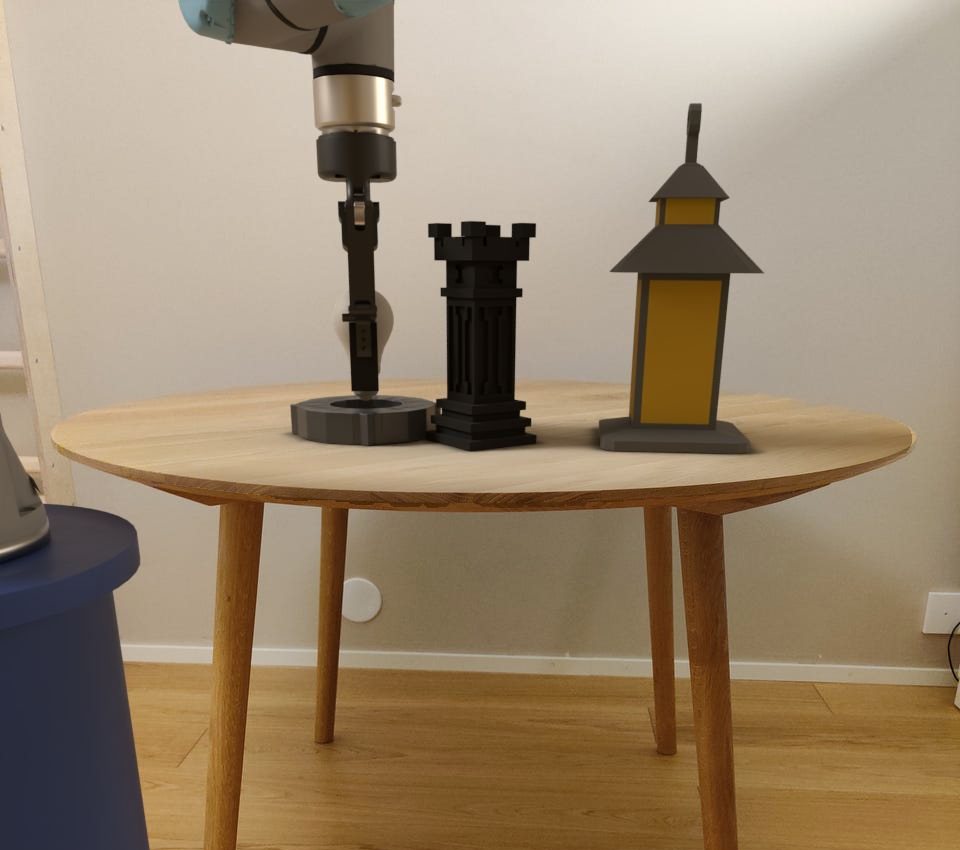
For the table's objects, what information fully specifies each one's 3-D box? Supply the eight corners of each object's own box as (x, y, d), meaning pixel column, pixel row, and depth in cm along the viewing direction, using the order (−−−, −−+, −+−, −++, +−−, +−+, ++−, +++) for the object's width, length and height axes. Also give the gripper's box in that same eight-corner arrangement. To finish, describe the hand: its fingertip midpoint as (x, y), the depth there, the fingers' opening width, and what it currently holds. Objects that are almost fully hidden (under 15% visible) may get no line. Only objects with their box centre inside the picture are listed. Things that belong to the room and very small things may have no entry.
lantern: (729, 430, 103) (761, 115, 92) (751, 454, 90) (791, 90, 79) (598, 427, 104) (614, 116, 93) (600, 450, 91) (619, 91, 80)
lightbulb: (398, 397, 101) (396, 287, 97) (392, 404, 96) (389, 288, 92) (341, 396, 101) (336, 286, 97) (331, 404, 96) (326, 287, 92)
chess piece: (490, 432, 101) (492, 225, 93) (536, 443, 94) (542, 223, 87) (425, 438, 96) (422, 223, 89) (469, 450, 90) (469, 220, 83)
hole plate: (368, 449, 91) (367, 417, 89) (270, 434, 99) (268, 404, 98) (461, 431, 101) (461, 402, 100) (366, 418, 109) (365, 391, 108)
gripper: (400, 121, 81) (405, 398, 90) (392, 147, 99) (397, 376, 107) (311, 118, 80) (325, 399, 89) (319, 145, 98) (330, 377, 106)
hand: (364, 386), depth 98 cm, fingers closed on lightbulb, 6 cm apart
